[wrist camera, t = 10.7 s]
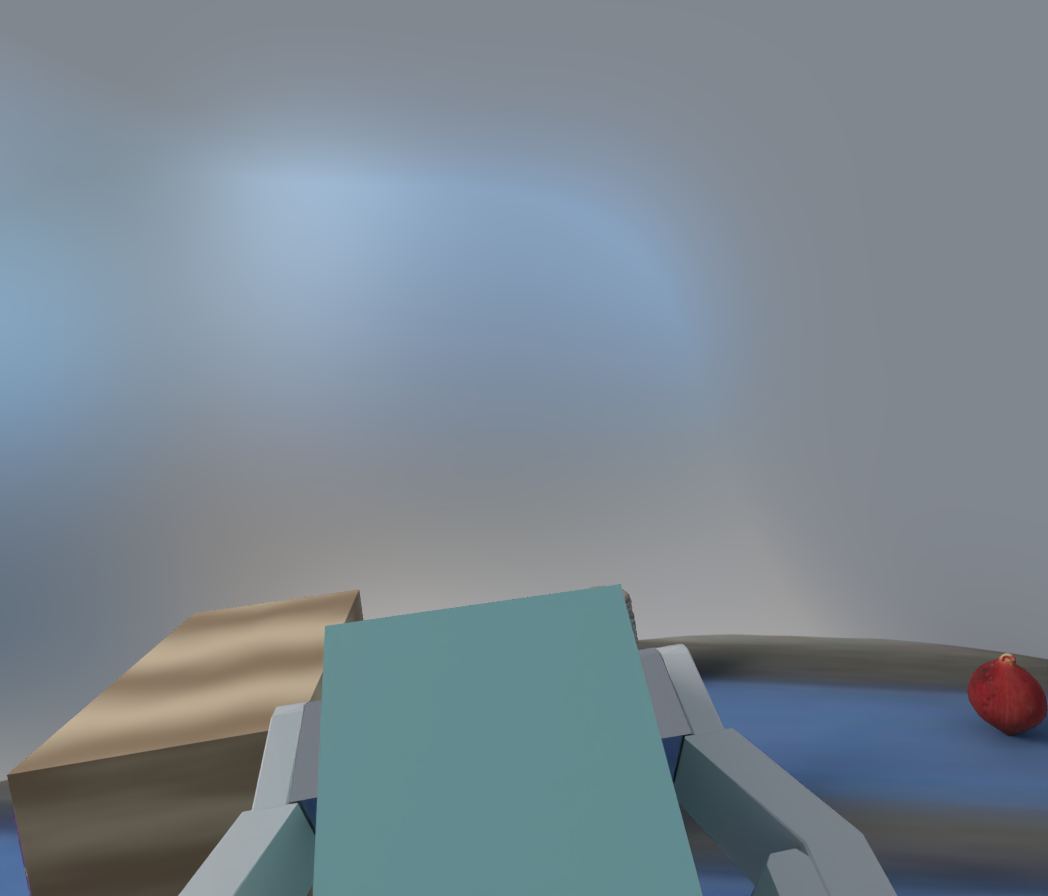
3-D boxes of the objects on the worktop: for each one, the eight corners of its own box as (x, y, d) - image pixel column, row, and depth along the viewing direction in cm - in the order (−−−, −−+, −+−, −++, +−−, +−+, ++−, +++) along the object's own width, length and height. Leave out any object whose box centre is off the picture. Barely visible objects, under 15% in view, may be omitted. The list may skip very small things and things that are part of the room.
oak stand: (388, 1315, 25) (298, 725, 22) (132, 1389, 24) (7, 774, 21) (410, 958, 41) (359, 589, 38) (257, 992, 39) (194, 613, 37)
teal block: (720, 960, 6) (620, 584, 8) (305, 1046, 6) (325, 625, 8) (561, 904, 27) (545, 803, 29) (472, 922, 26) (463, 817, 29)
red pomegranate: (983, 748, 55) (981, 666, 55) (959, 714, 61) (957, 639, 60) (1060, 754, 54) (1059, 669, 53) (1029, 718, 59) (1027, 641, 58)
